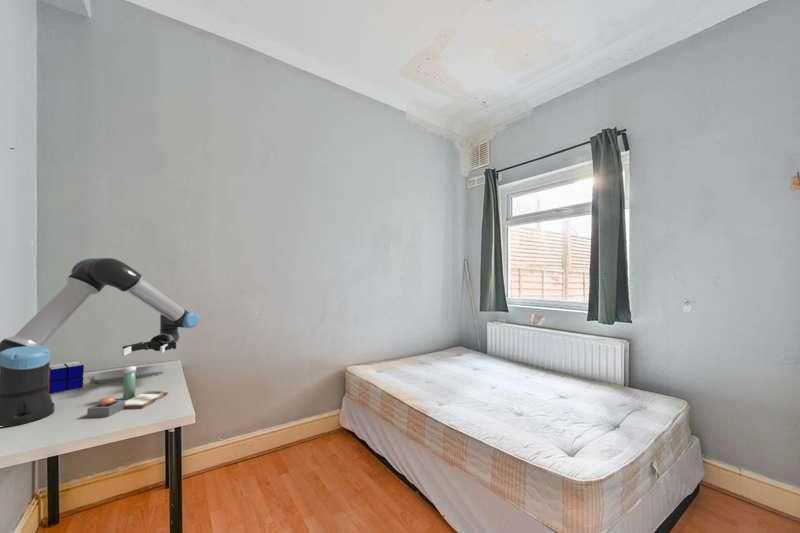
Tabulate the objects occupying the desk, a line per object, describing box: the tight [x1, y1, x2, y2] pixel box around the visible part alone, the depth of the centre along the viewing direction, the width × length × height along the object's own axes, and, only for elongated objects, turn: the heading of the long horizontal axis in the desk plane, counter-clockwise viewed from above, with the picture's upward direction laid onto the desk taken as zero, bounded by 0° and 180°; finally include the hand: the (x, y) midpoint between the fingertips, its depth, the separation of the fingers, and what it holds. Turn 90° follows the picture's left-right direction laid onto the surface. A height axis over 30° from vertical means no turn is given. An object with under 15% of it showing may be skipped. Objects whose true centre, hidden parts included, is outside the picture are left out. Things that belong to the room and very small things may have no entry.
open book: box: [123, 390, 169, 410], centre depth 123 cm, size 14×10×2 cm
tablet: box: [93, 364, 165, 385], centre depth 157 cm, size 16×26×2 cm, turn 130°
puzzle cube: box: [48, 361, 85, 395], centre depth 138 cm, size 10×10×10 cm
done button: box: [98, 396, 116, 405], centre depth 113 cm, size 4×4×2 cm
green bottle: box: [122, 365, 137, 401], centre depth 127 cm, size 4×4×12 cm
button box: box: [86, 399, 126, 418], centre depth 113 cm, size 7×7×3 cm
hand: (142, 351), depth 137 cm, fingers open, 13 cm apart
